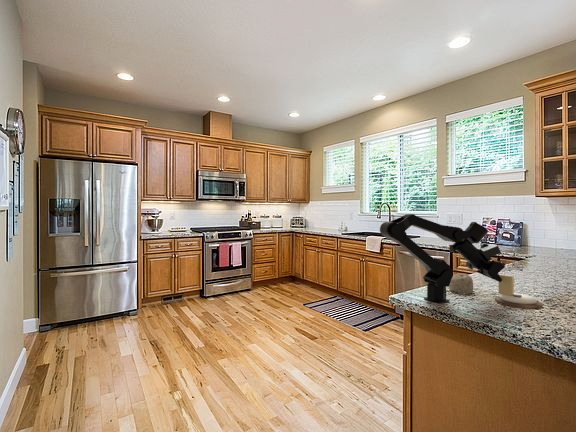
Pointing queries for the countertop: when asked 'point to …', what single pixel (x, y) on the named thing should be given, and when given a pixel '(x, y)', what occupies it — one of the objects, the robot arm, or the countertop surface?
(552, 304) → the countertop surface
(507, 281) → the dial
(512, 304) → the base
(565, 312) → the countertop surface
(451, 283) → the sponge
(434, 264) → the robot arm
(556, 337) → the countertop surface
